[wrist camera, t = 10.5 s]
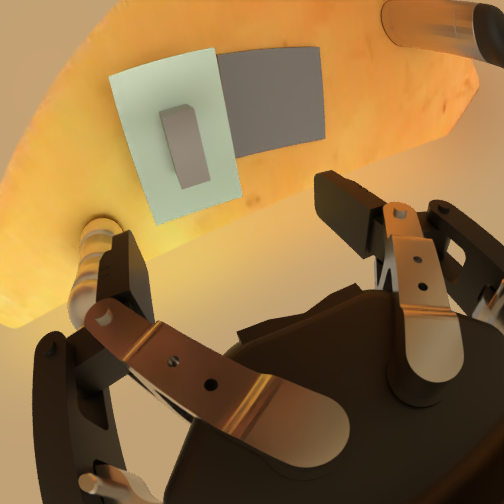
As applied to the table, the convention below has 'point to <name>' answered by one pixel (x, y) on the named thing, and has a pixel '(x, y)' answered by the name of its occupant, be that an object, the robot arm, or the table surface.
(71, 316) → the plastic bottle
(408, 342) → the robot arm
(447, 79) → the table surface
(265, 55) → the rubber mat
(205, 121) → the lid
